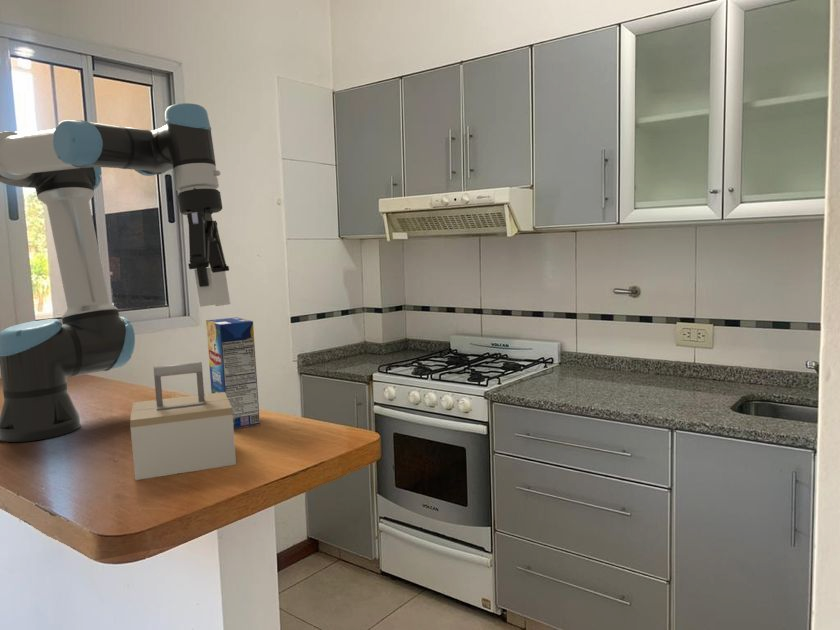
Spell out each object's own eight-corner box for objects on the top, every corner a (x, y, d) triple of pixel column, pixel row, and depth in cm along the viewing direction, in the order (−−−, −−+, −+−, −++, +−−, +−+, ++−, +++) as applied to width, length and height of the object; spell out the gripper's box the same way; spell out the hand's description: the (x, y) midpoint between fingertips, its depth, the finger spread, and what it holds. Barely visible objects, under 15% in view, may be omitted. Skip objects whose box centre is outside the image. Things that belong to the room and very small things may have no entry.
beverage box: (227, 430, 133) (220, 324, 130) (213, 419, 142) (205, 320, 140) (260, 424, 136) (253, 321, 134) (243, 414, 146) (237, 317, 143)
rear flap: (133, 406, 117) (130, 364, 116) (225, 396, 123) (222, 355, 122) (132, 415, 111) (128, 370, 110) (228, 403, 117) (225, 361, 116)
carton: (138, 455, 118) (133, 400, 117) (228, 442, 124) (224, 390, 123) (135, 480, 105) (129, 418, 104) (236, 464, 111) (231, 406, 110)
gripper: (204, 175, 107) (224, 302, 107) (231, 199, 131) (246, 302, 132) (158, 181, 106) (178, 308, 107) (193, 203, 131) (209, 307, 131)
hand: (216, 305), depth 119 cm, fingers open, 13 cm apart
